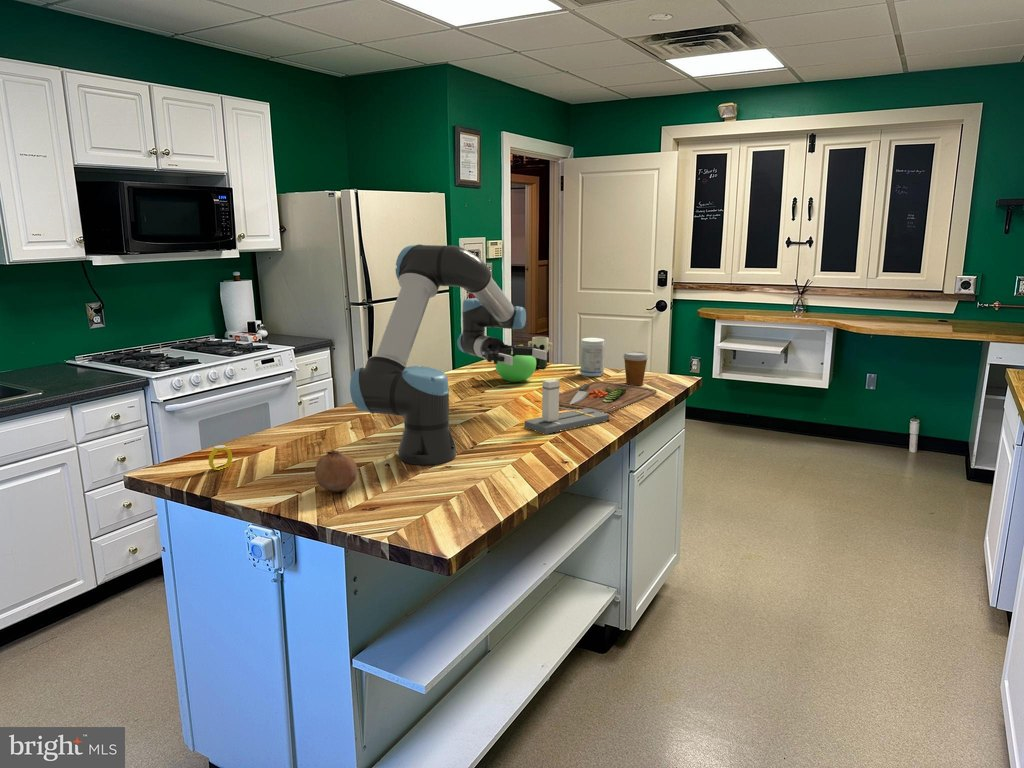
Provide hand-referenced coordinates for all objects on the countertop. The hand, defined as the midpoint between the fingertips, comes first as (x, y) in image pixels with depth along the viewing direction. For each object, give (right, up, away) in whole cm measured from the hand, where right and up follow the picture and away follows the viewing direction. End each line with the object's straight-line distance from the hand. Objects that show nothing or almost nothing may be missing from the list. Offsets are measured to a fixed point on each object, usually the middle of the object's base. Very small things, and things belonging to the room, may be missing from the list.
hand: (529, 358), depth 222 cm
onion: (-45, -33, -59) cm, 81 cm away
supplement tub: (+27, -4, +70) cm, 76 cm away
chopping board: (+27, -14, +32) cm, 44 cm away
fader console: (+12, -20, -2) cm, 24 cm away
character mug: (+7, -1, +84) cm, 85 cm away
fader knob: (+6, -19, -7) cm, 21 cm away
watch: (-78, -29, -44) cm, 94 cm away
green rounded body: (-4, -7, +58) cm, 59 cm away
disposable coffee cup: (+42, -8, +54) cm, 69 cm away
